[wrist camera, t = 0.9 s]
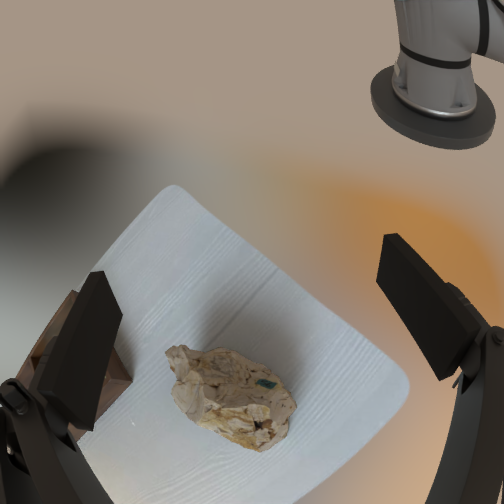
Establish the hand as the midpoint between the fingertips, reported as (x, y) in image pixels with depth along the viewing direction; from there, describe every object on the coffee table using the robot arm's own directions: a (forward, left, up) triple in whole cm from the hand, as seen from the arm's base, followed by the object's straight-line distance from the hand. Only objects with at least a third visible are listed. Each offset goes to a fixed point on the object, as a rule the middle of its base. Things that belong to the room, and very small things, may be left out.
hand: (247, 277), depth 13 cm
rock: (+8, -3, -17) cm, 19 cm away
